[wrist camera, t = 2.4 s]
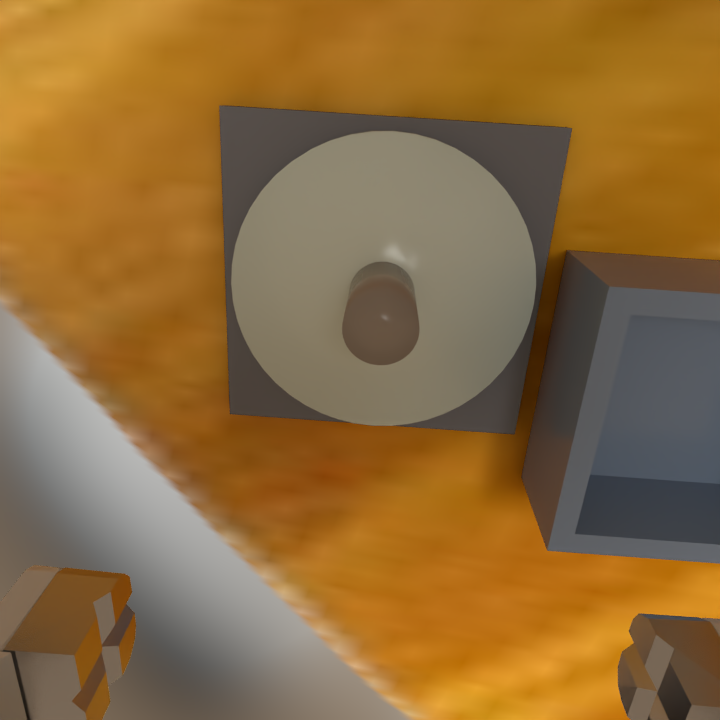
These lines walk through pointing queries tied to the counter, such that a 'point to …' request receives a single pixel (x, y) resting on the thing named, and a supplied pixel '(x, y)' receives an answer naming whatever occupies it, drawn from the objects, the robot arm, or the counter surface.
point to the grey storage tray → (630, 410)
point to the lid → (383, 278)
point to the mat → (312, 128)
